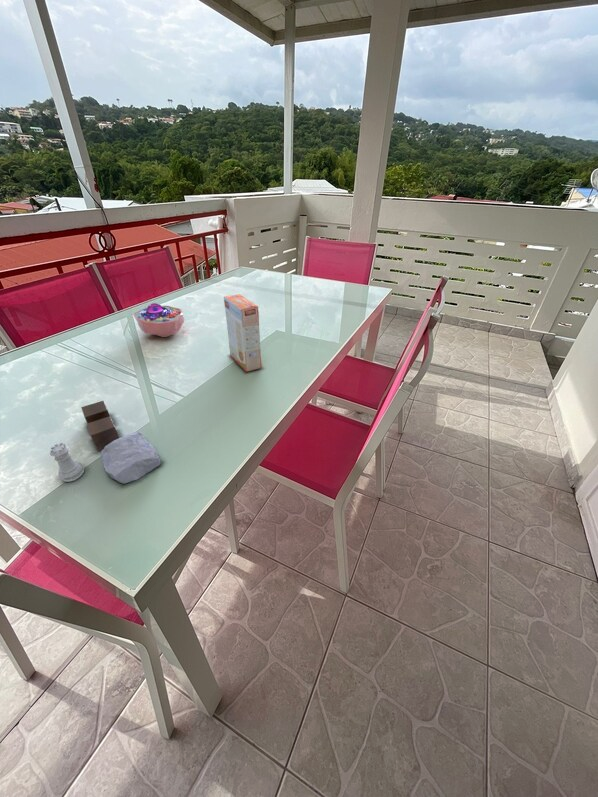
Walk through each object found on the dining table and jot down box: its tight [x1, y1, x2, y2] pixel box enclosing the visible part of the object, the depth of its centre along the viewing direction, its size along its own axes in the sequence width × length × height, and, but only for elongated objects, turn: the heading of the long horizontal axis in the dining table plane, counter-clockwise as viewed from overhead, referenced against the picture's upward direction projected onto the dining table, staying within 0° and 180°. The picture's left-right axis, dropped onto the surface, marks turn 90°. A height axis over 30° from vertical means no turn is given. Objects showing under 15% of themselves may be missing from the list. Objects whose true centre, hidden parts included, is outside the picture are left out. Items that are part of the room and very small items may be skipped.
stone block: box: [100, 430, 162, 484], centre depth 72 cm, size 12×5×10 cm
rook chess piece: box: [49, 442, 85, 483], centre depth 67 cm, size 4×4×8 cm
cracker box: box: [223, 293, 262, 373], centre depth 105 cm, size 14×6×21 cm, turn 31°
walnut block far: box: [81, 400, 111, 425], centre depth 82 cm, size 5×5×5 cm
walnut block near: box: [86, 415, 120, 452], centre depth 77 cm, size 5×5×5 cm
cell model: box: [133, 302, 185, 338], centre depth 126 cm, size 17×20×11 cm
